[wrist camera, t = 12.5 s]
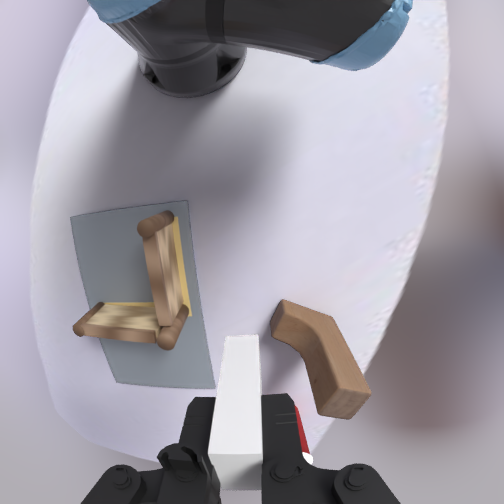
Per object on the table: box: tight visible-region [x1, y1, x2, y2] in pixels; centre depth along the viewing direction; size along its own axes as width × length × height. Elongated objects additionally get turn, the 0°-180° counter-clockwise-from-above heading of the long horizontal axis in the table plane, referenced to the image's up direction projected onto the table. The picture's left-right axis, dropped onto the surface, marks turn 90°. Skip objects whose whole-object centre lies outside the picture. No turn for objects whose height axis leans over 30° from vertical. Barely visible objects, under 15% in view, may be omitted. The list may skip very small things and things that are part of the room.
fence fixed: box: [137, 210, 189, 351], centre depth 34 cm, size 16×2×9 cm, turn 5°
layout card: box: [70, 201, 216, 389], centre depth 41 cm, size 32×20×1 cm, turn 5°
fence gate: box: [73, 302, 163, 344], centre depth 36 cm, size 14×2×8 cm, turn 91°
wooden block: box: [270, 299, 371, 419], centre depth 33 cm, size 9×4×18 cm, turn 67°
